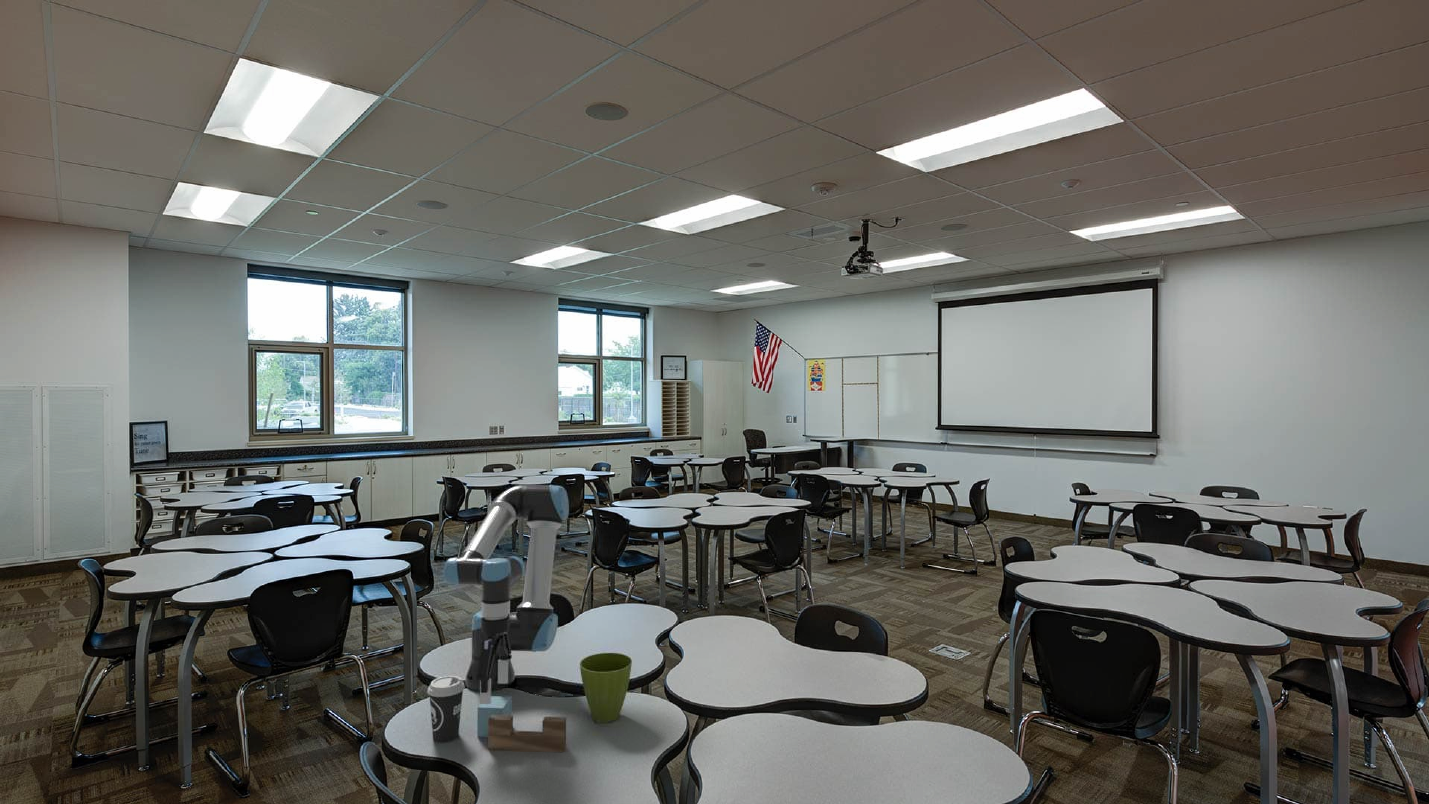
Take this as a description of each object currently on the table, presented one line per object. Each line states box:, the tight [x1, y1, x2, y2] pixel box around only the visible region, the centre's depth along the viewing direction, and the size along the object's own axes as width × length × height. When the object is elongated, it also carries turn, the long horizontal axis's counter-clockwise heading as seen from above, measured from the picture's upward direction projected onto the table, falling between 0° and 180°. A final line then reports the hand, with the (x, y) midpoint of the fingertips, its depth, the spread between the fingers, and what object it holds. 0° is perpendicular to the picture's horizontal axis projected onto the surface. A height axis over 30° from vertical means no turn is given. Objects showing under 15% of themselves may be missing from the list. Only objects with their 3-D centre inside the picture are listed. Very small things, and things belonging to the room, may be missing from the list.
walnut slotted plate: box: [487, 715, 567, 753], centre depth 180 cm, size 2×20×8 cm, turn 88°
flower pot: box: [579, 652, 633, 723], centre depth 198 cm, size 15×15×16 cm
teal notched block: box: [476, 695, 513, 738], centre depth 190 cm, size 7×7×8 cm
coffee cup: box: [426, 675, 466, 743], centre depth 186 cm, size 10×10×15 cm
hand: (494, 693), depth 189 cm, fingers open, 13 cm apart
